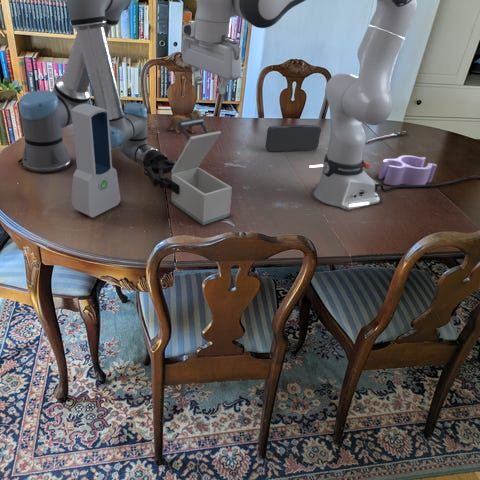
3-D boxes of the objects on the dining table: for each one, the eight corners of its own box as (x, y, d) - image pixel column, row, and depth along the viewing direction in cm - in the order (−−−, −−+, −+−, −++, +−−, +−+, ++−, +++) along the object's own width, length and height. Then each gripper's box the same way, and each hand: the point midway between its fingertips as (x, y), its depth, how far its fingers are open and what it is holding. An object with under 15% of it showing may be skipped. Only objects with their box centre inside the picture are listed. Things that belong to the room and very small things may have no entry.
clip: (390, 188, 168) (396, 170, 164) (372, 173, 178) (376, 156, 174) (435, 185, 175) (441, 168, 171) (415, 170, 184) (420, 154, 181)
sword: (403, 131, 224) (404, 129, 223) (408, 133, 222) (409, 131, 221) (360, 143, 208) (360, 140, 207) (365, 145, 206) (366, 142, 205)
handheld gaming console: (315, 147, 196) (319, 124, 190) (317, 149, 194) (322, 126, 188) (264, 149, 189) (267, 125, 183) (266, 152, 187) (269, 127, 181)
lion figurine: (198, 128, 202) (199, 107, 197) (202, 132, 198) (203, 111, 193) (165, 129, 197) (165, 108, 192) (167, 134, 193) (168, 112, 188)
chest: (229, 215, 141) (232, 187, 136) (203, 225, 135) (204, 195, 130) (197, 194, 151) (198, 166, 146) (171, 202, 145) (171, 173, 140)
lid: (221, 132, 132) (207, 110, 134) (192, 139, 126) (178, 115, 128) (199, 166, 146) (186, 145, 147) (172, 173, 140) (159, 151, 141)
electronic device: (90, 219, 132) (80, 115, 116) (71, 210, 135) (59, 108, 119) (121, 203, 141) (116, 105, 125) (103, 195, 144) (96, 99, 128)
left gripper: (179, 163, 164) (220, 187, 151) (122, 177, 151) (161, 206, 138) (180, 143, 160) (221, 166, 147) (121, 156, 147) (161, 183, 134)
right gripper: (250, 40, 111) (244, 98, 118) (197, 24, 123) (195, 78, 130) (230, 41, 107) (225, 101, 115) (177, 25, 119) (176, 80, 127)
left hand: (192, 185), depth 142 cm, fingers closed on chest, 10 cm apart
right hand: (209, 88), depth 123 cm, fingers open, 8 cm apart
